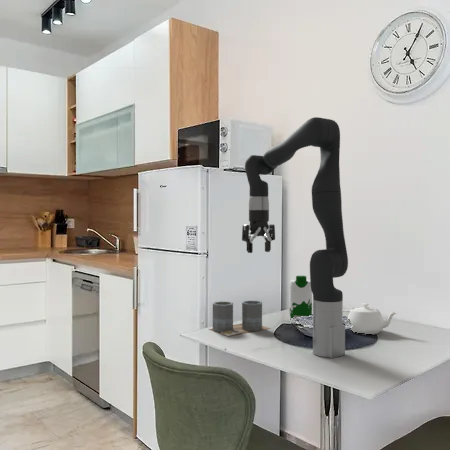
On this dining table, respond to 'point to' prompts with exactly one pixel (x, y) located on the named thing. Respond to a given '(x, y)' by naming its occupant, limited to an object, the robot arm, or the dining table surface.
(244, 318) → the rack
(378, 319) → the teapot
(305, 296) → the milk carton
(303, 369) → the dining table surface
